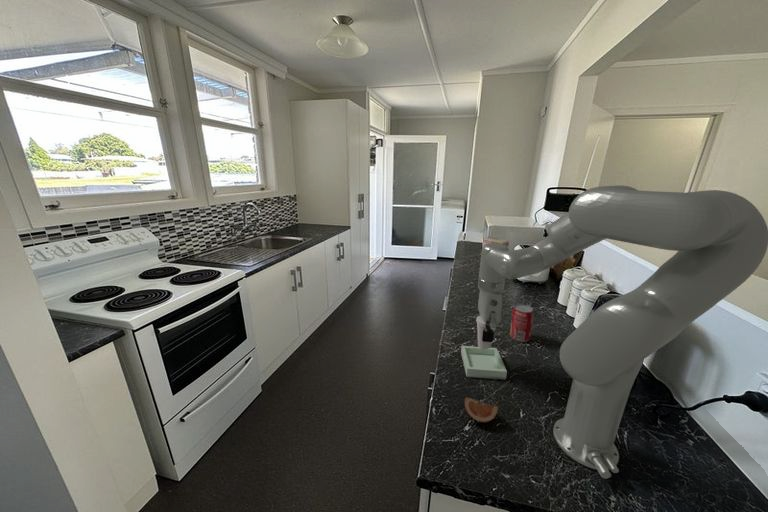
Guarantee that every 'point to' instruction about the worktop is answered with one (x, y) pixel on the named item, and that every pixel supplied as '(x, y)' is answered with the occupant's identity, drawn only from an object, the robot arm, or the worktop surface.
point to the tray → (483, 363)
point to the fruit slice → (480, 410)
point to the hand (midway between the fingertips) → (484, 334)
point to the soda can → (521, 323)
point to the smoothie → (480, 333)
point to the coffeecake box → (495, 241)
